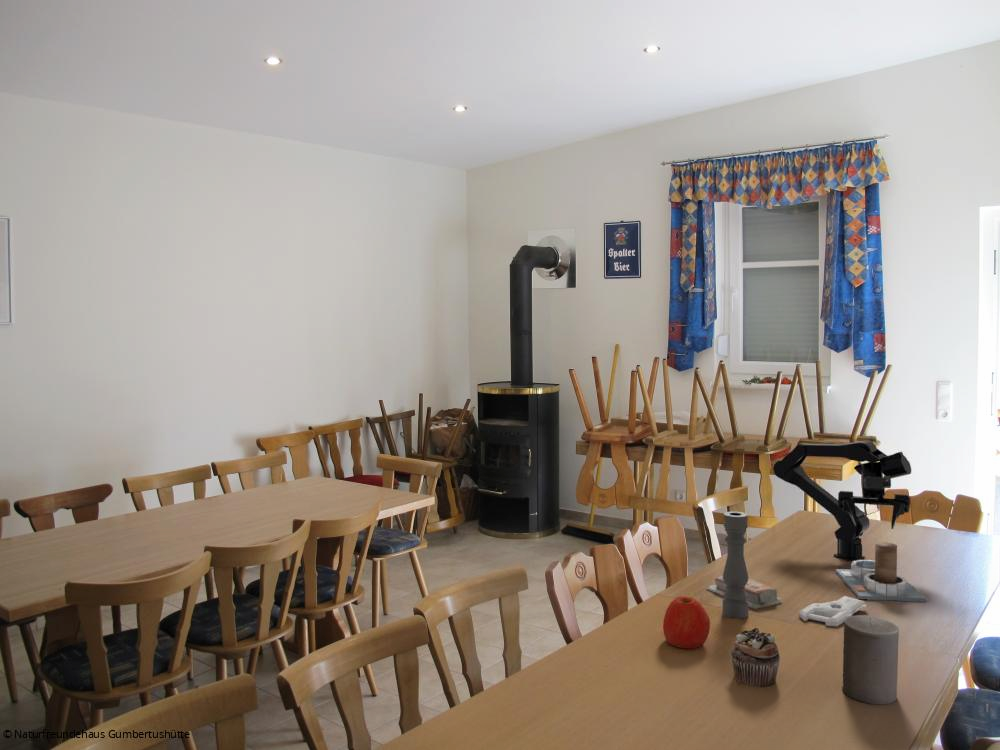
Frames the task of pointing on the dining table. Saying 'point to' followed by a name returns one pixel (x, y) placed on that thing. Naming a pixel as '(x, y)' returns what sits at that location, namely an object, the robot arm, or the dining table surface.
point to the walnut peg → (886, 562)
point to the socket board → (879, 597)
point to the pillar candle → (870, 659)
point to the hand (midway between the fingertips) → (874, 526)
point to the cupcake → (755, 658)
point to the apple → (686, 623)
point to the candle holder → (735, 566)
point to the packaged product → (751, 592)
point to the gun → (832, 610)
